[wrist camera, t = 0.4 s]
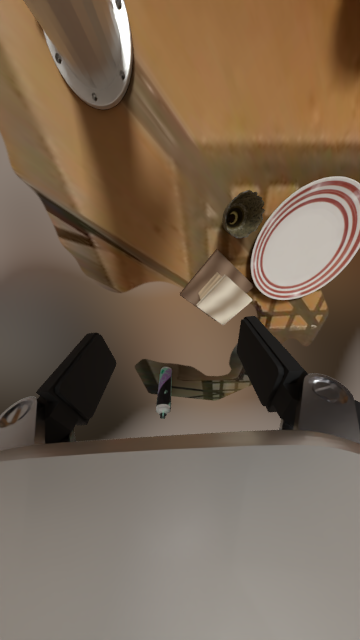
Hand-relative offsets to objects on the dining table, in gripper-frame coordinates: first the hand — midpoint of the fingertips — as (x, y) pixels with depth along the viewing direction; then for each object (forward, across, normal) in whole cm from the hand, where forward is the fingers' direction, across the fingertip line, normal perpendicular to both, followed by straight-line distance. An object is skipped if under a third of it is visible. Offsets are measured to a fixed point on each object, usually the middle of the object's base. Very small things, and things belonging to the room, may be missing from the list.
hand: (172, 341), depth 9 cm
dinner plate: (+35, -33, +2) cm, 48 cm away
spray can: (+35, +12, +49) cm, 61 cm away
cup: (+35, -14, -7) cm, 38 cm away
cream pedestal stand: (+34, -11, +11) cm, 38 cm away
